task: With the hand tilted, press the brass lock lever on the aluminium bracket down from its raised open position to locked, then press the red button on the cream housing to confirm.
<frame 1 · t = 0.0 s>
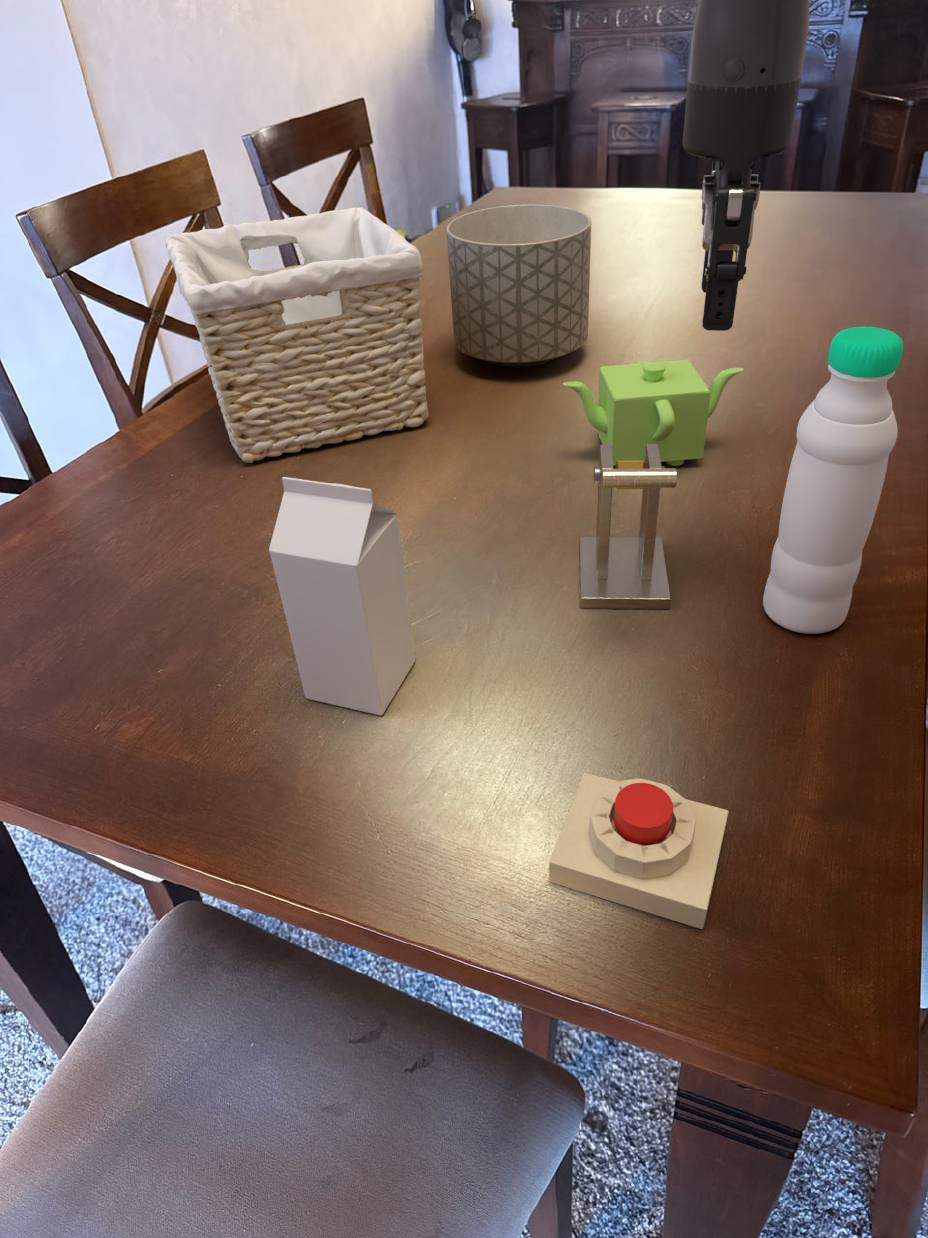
hand: (715, 309, 69), 24 cm above the table, tool pointing down, fingers open, 8 cm apart
basket: (315, 408, 116), on the table
confirm button: (643, 813, 55), point 4 cm above the table, slide at 0.1 cm
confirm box: (638, 855, 58), on the table
teapot: (647, 453, 101), on the table
planter: (521, 357, 125), on the table
water bottle: (802, 614, 76), on the table
lock lever: (633, 476, 71), point 13 cm above the table, hinge at 28.0°
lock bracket: (622, 576, 82), on the table
milk carton: (362, 681, 73), on the table
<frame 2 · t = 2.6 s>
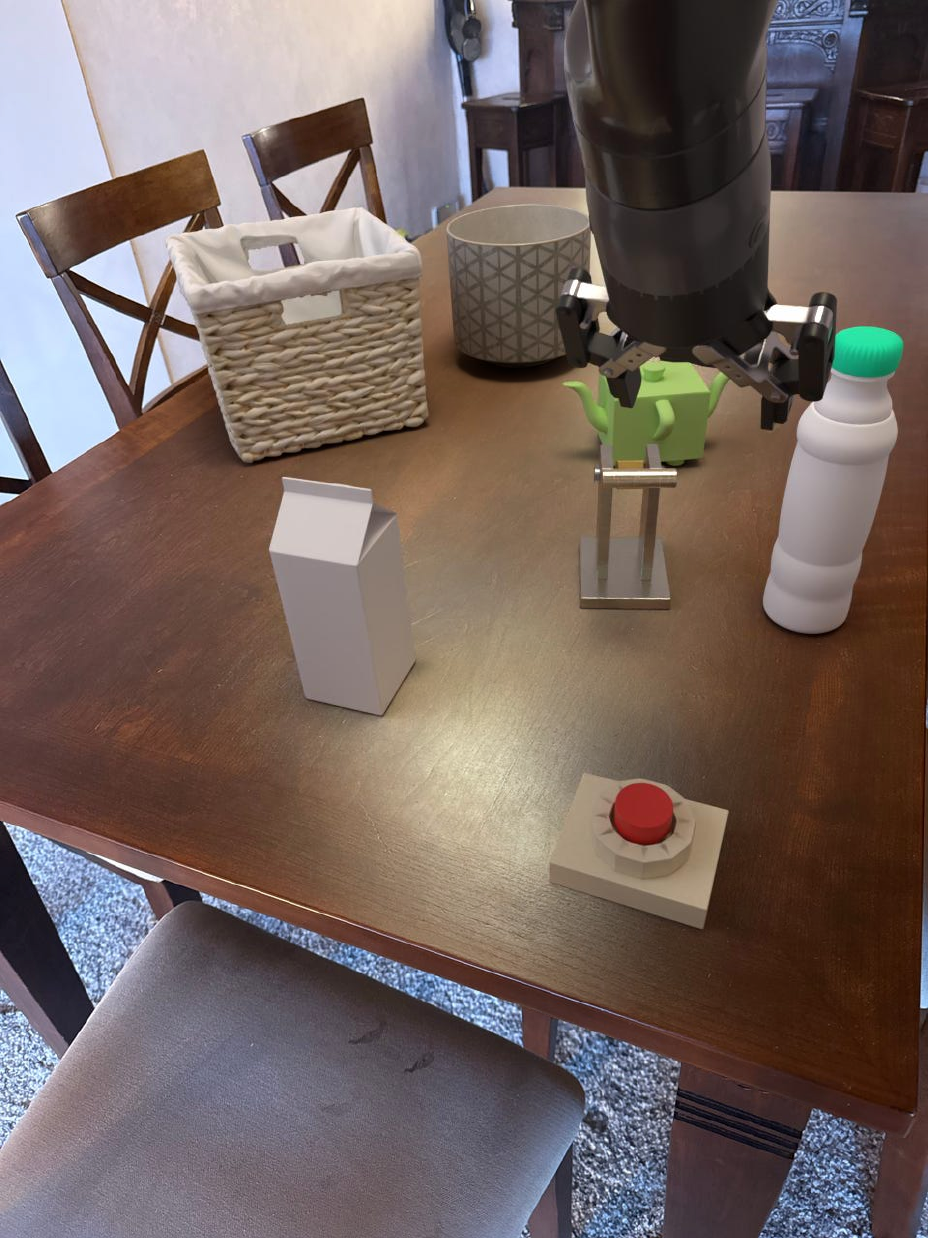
hand: (699, 405, 53), 25 cm above the table, tool tilted 35°, fingers open, 8 cm apart
nothing on the table moved.
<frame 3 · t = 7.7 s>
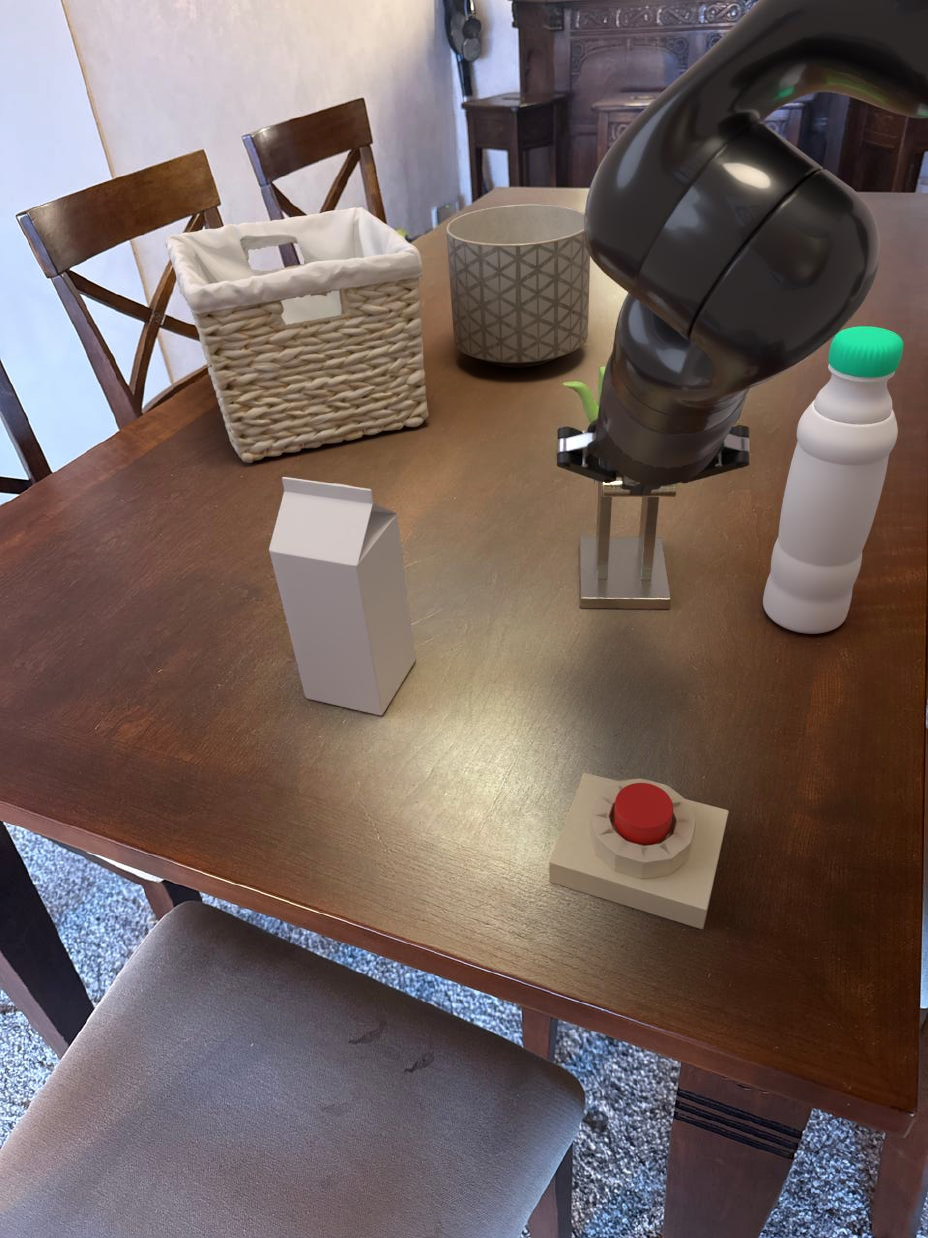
hand: (639, 482, 65), 16 cm above the table, tool tilted 45°, fingers closed
lock lever: (633, 480, 71), point 13 cm above the table, hinge at 24.1°, touching gripper
everything else where it was.
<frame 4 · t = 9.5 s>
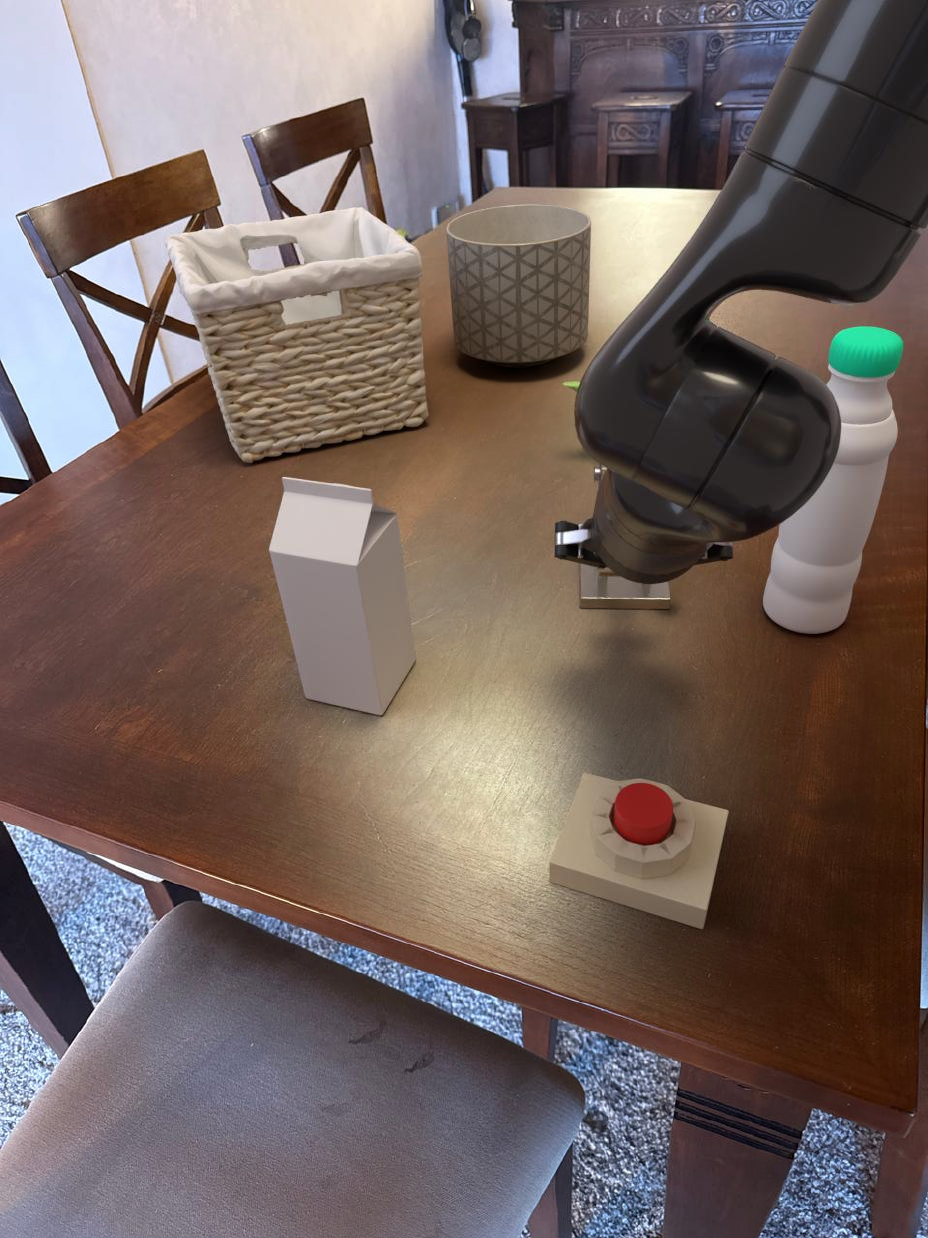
hand: (631, 562, 69), 9 cm above the table, tool tilted 45°, fingers closed
lock lever: (630, 516, 73), point 10 cm above the table, hinge at -18.7°, touching gripper
everything else where it was.
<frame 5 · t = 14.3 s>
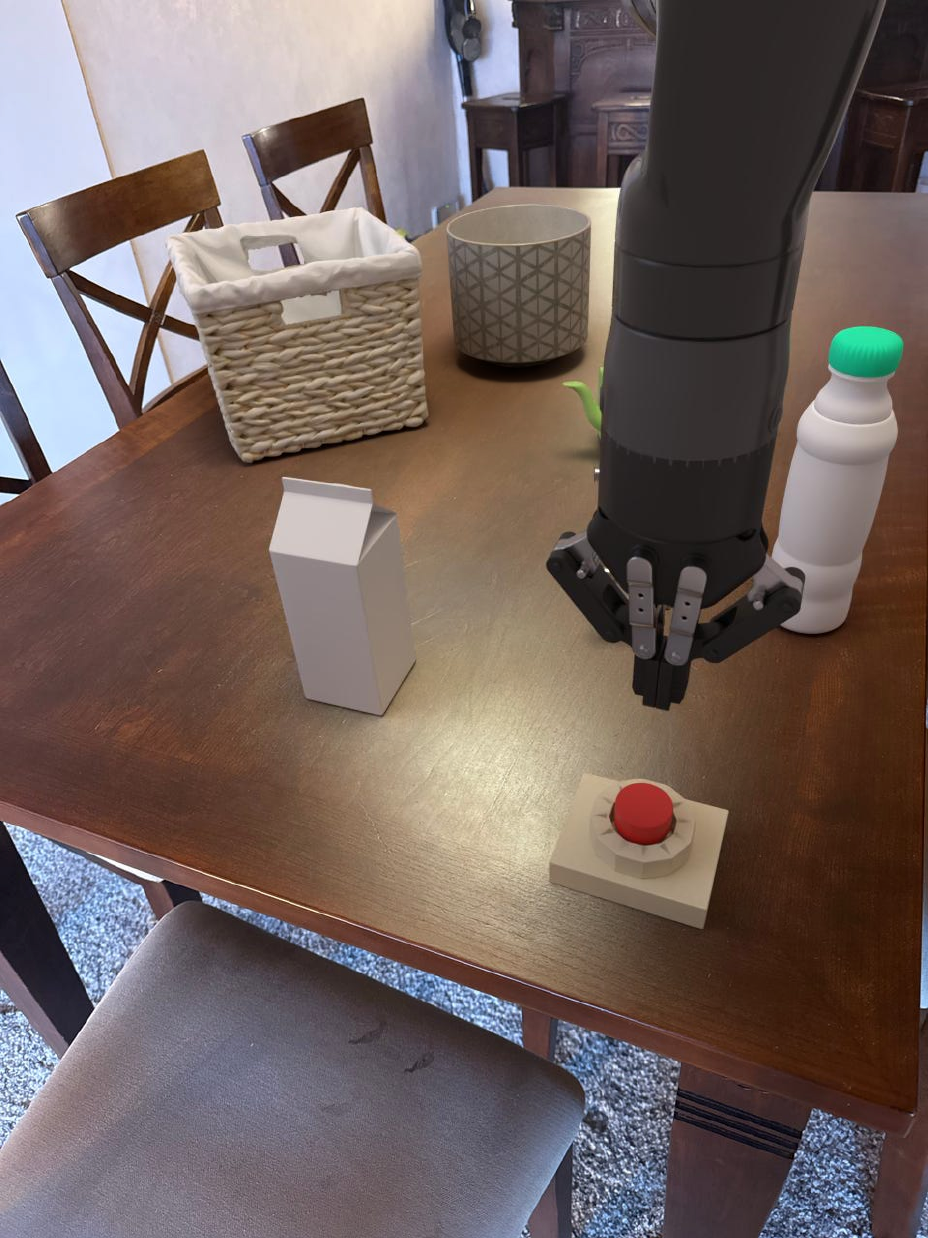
hand: (658, 698, 48), 15 cm above the table, tool pointing down, fingers closed
lock lever: (630, 519, 73), point 9 cm above the table, hinge at -24.5°
everything else where it was.
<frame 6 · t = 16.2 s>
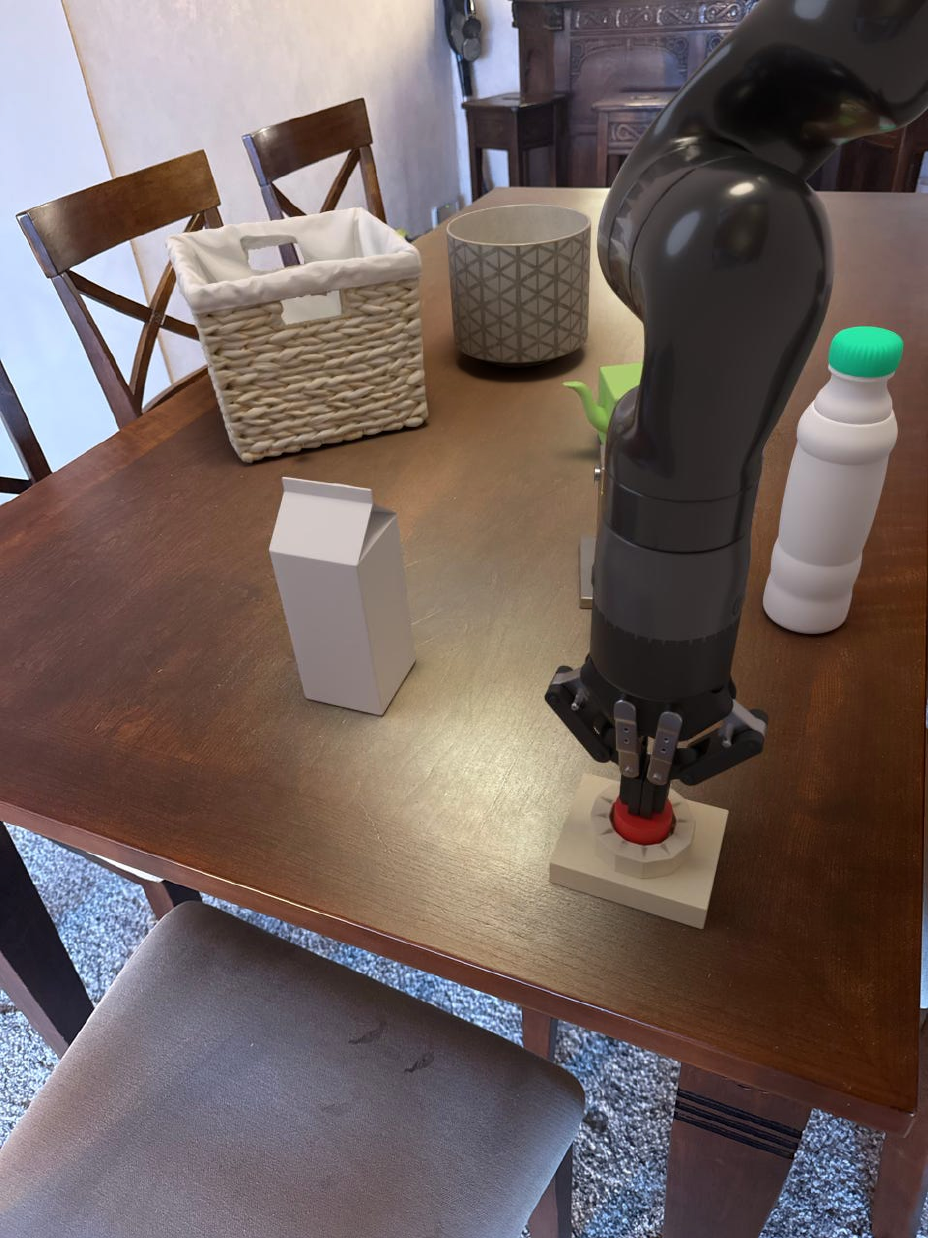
hand: (642, 806, 55), 5 cm above the table, tool pointing down, fingers closed
confirm button: (642, 816, 55), point 4 cm above the table, slide at -0.2 cm, touching gripper
everything else where it was.
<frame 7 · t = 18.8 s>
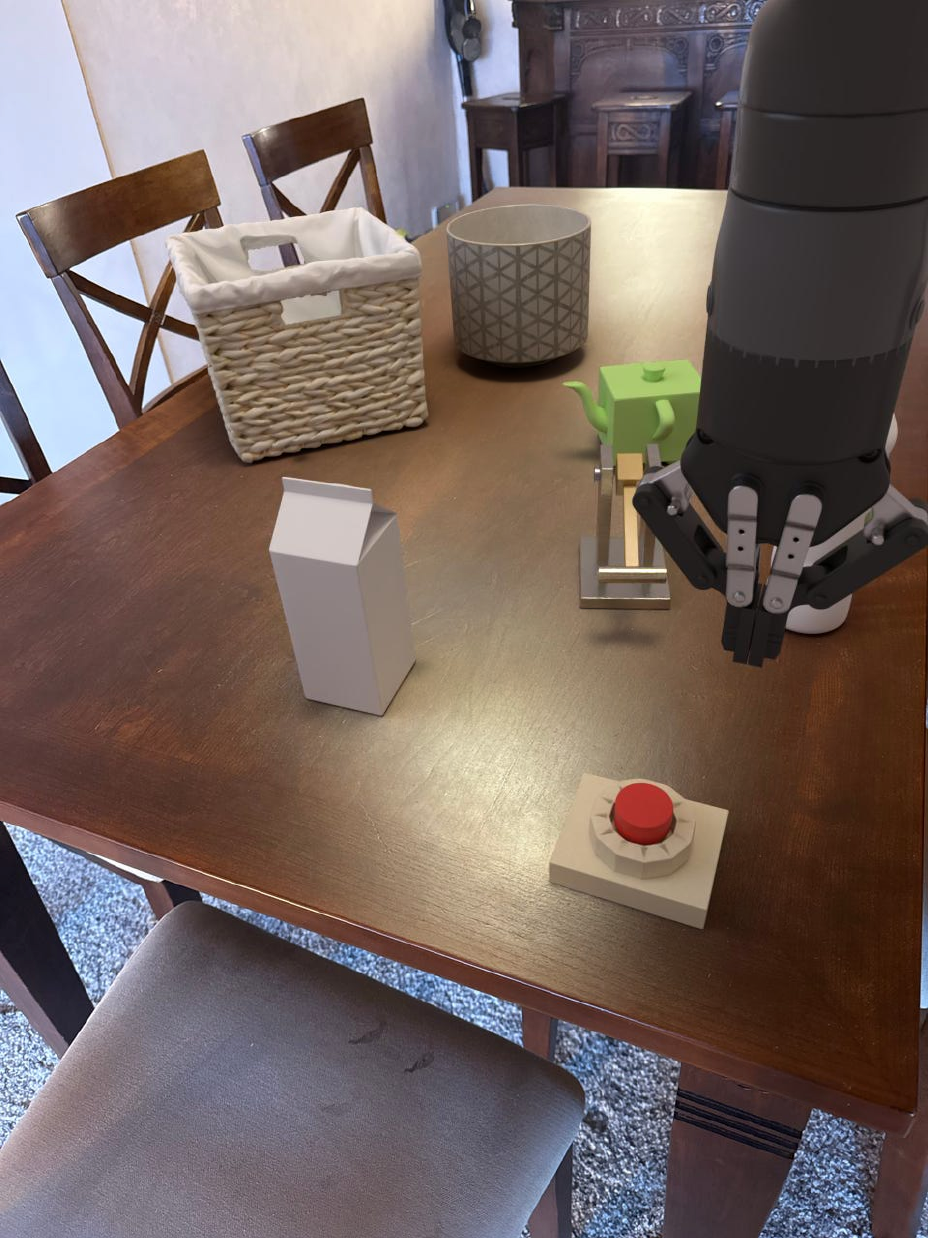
hand: (748, 654, 44), 20 cm above the table, tool pointing down, fingers closed
confirm button: (643, 813, 55), point 4 cm above the table, slide at 0.1 cm
everything else where it was.
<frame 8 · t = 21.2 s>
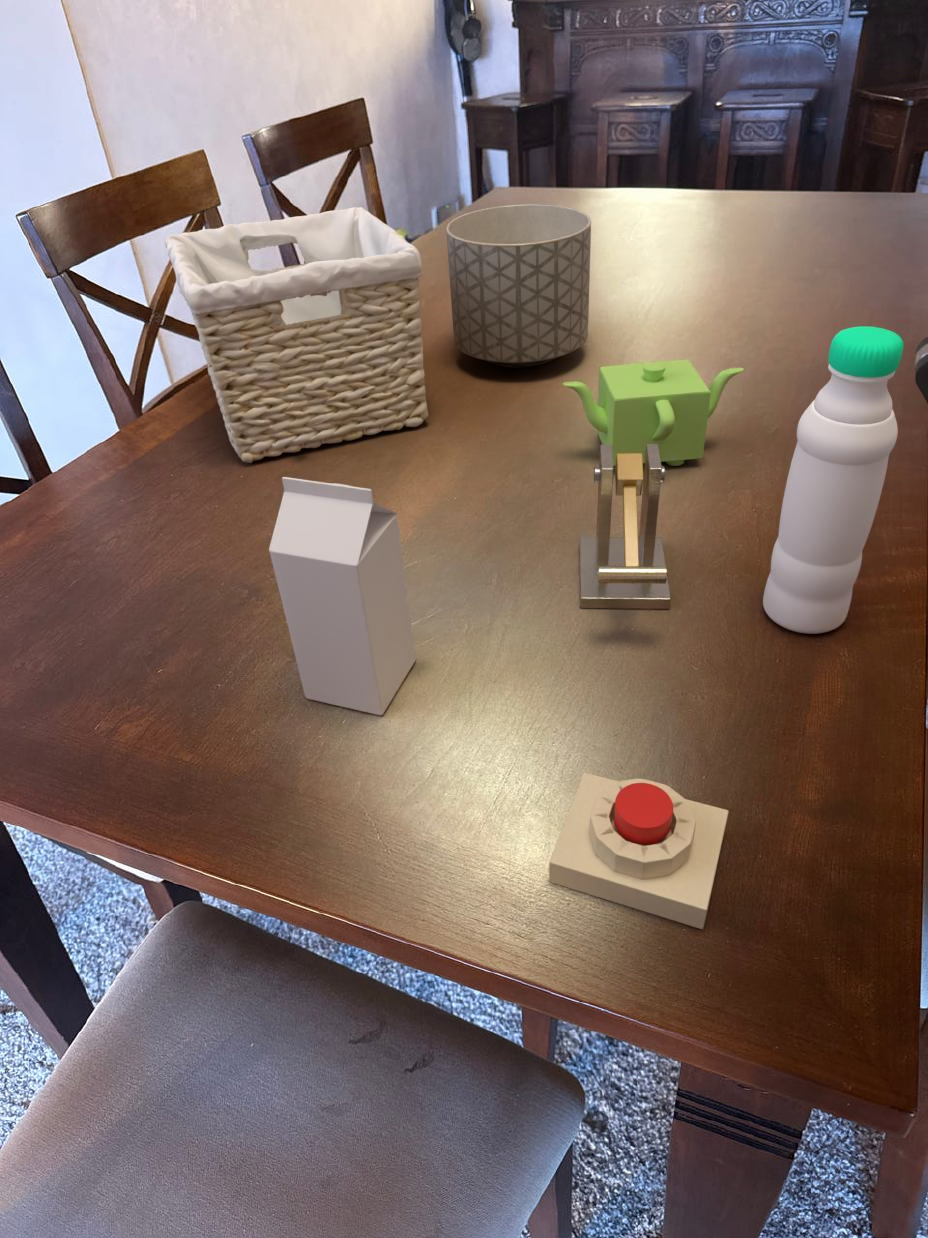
nothing on the table moved.
at the end: lock lever at -24° (first picture: +28°); confirm button pushed in 1.1 cm at the most during the clip, back to where it started at the end; confirm button slide at 0.1 cm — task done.
